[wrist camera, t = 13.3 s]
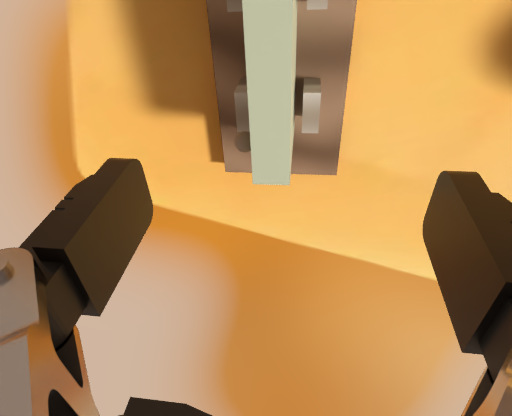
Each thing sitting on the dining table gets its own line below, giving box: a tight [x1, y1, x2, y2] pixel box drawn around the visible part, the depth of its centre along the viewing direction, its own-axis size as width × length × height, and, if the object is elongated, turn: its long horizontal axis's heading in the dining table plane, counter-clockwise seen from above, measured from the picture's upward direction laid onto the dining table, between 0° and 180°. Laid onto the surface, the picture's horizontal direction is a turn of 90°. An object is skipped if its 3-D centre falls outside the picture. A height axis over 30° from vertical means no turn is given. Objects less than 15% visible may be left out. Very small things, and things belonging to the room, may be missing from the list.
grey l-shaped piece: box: [206, 0, 357, 175], centre depth 22 cm, size 22×10×12 cm, turn 2°
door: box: [234, 0, 298, 185], centre depth 22 cm, size 13×4×8 cm, turn 3°
